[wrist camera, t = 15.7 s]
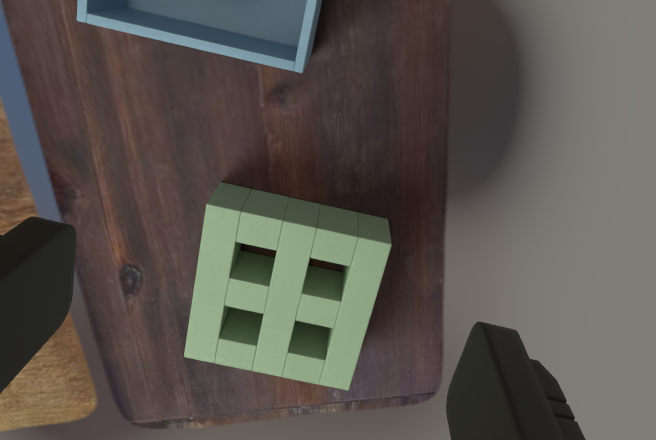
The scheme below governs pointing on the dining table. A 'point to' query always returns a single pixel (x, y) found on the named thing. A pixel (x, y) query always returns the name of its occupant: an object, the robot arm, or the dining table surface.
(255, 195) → the rack
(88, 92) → the dining table surface
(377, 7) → the dining table surface
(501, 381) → the robot arm
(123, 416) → the dining table surface
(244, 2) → the tub
